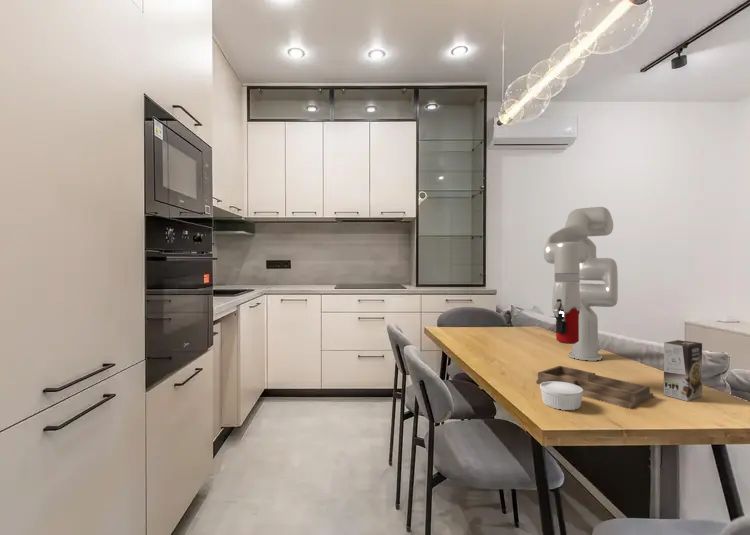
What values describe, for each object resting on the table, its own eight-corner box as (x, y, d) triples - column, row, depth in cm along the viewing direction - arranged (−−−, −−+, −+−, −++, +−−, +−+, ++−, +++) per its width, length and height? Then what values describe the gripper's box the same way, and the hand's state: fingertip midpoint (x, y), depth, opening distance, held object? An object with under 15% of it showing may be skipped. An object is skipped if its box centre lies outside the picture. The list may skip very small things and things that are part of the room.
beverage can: (573, 340, 127) (573, 305, 127) (582, 344, 121) (582, 308, 121) (553, 340, 128) (552, 305, 128) (560, 344, 121) (560, 307, 121)
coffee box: (688, 401, 107) (688, 346, 107) (662, 395, 113) (662, 342, 113) (703, 396, 111) (703, 342, 111) (678, 390, 117) (677, 339, 117)
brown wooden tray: (536, 383, 125) (536, 372, 125) (561, 374, 134) (561, 365, 134) (630, 408, 102) (630, 396, 102) (653, 396, 112) (653, 385, 111)
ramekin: (548, 395, 114) (548, 378, 114) (589, 404, 106) (588, 386, 106) (533, 405, 106) (533, 386, 106) (575, 416, 98) (575, 396, 98)
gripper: (569, 277, 132) (569, 327, 132) (541, 279, 122) (542, 333, 123) (591, 278, 126) (591, 330, 126) (564, 279, 116) (564, 336, 116)
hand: (567, 331), depth 124 cm, fingers closed on beverage can, 6 cm apart
